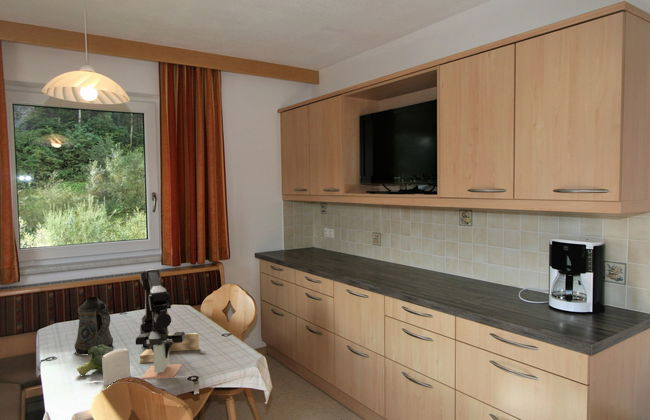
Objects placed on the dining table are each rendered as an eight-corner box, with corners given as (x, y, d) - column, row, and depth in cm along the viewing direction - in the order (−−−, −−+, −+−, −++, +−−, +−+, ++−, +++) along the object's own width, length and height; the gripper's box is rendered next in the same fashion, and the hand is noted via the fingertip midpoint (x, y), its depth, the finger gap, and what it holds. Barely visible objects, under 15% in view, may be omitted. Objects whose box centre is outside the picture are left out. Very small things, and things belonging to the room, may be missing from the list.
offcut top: (140, 358, 192) (139, 355, 192) (146, 352, 199) (145, 349, 199) (154, 357, 192) (154, 354, 192) (160, 351, 199) (160, 348, 199)
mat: (141, 379, 176) (141, 377, 176) (151, 366, 188) (151, 365, 188) (174, 377, 177) (174, 375, 177) (182, 365, 189) (181, 363, 189)
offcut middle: (139, 362, 191) (139, 359, 191) (145, 355, 199) (145, 352, 199) (156, 361, 192) (156, 358, 192) (161, 354, 200) (161, 351, 200)
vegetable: (78, 364, 187) (112, 343, 193) (90, 389, 183) (125, 366, 189) (66, 356, 177) (103, 334, 183) (79, 383, 172) (116, 359, 178)
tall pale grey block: (154, 372, 177) (153, 346, 177) (161, 363, 186) (160, 338, 186) (163, 372, 178) (162, 345, 177) (169, 363, 187) (168, 337, 186)
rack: (140, 364, 190) (139, 346, 190) (151, 352, 205) (150, 335, 204) (191, 362, 192) (191, 344, 191) (198, 349, 206) (198, 333, 206)
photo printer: (106, 386, 170) (104, 355, 169) (101, 383, 172) (99, 353, 172) (132, 377, 178) (130, 347, 177) (127, 374, 180) (125, 345, 180)
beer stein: (88, 343, 220) (85, 293, 219) (125, 342, 219) (123, 293, 217) (66, 355, 203) (63, 302, 202) (107, 355, 202) (104, 302, 201)
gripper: (129, 328, 172) (131, 367, 173) (177, 326, 174) (179, 364, 174) (139, 320, 183) (141, 356, 184) (184, 318, 185) (186, 354, 186)
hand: (161, 358), depth 182 cm, fingers closed on tall pale grey block, 3 cm apart
